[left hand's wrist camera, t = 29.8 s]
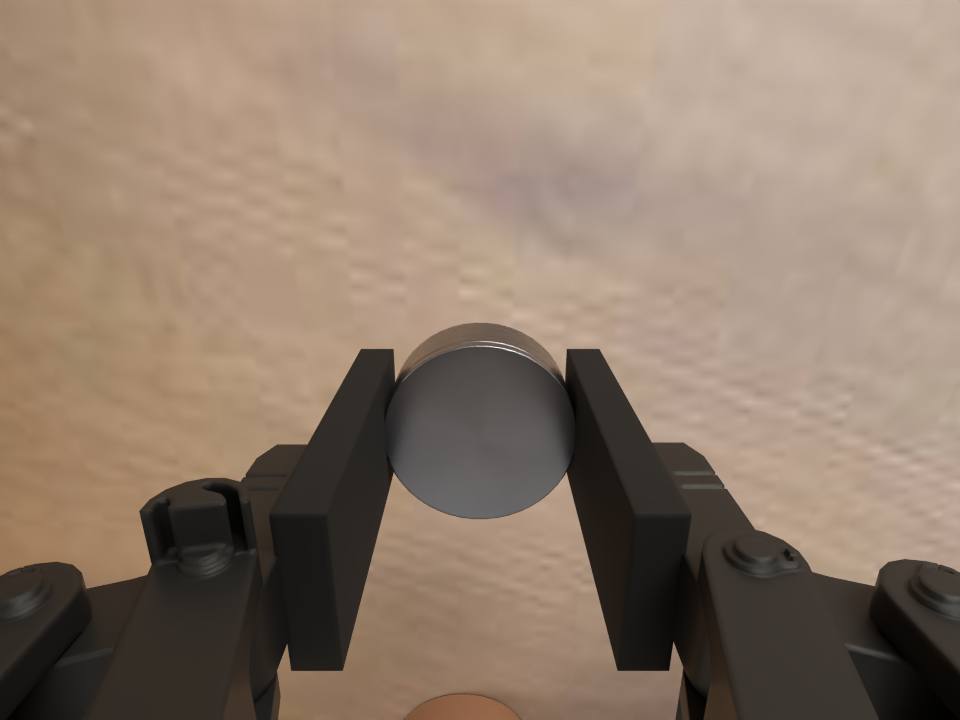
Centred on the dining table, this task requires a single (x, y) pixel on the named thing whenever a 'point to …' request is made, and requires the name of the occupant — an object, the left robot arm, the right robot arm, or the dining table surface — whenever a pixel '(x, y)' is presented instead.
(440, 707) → the bottle
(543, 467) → the cap
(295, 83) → the dining table surface
